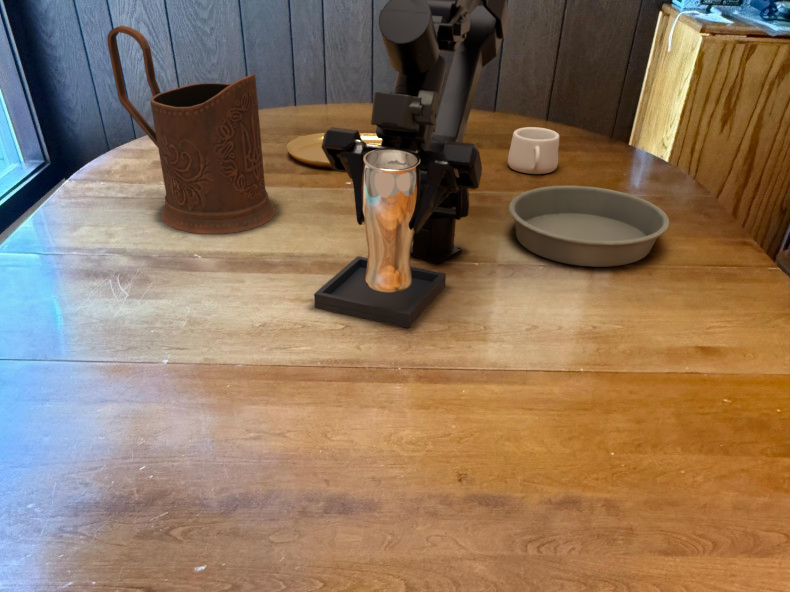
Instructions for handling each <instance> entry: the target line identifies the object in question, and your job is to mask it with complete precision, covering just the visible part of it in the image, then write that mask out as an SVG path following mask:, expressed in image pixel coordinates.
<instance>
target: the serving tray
mask: <svg viewBox="0 0 790 592" xmlns="http://www.w3.org/2000/svg"><path fill="white" fill-rule="evenodd" d="M367 262H368V257H364V256H360V255H357V256H356V257H355V258H354V259H352V260H351V261H350V262H349V263H347V264H346V265H345V266H344V267H343V268H342V269H341V270H339V271H338V272H337V273H336V274H334V276H332V278H330V279H329V280H328V281H327V282H325V283H324V284H323V285H322V286H321V287H320V288H319V289H318V290H317V291H315V293H314V294H313V296H314V297H313V298H314V299H313V300H314V308H315V309H321V310H325V311H327V312H328V311H329V312H334V313H338V314H342V315H347V316H351V317H356V318H360V319H364V320H369V321H374V322H378V323H383V324H388V325H392V326H397V327H400V328H405V329H410V328H411V327H412V326H413V325H414V324H415V323H416V321H417V320H418V319H419V318H420V317H421V315H422V314H423V313H424V312H425V311H426V309H428V307H429V306H430V305H431V304H432V303H433V302H434V301H435V299H437V297H438V296H439V295H440V294H441V293H442V291H443V290H444V289H445V288H446V282H447V280H446V279H447V273H444V272H441V271H435V270H429V269H425V268H421V267H414V266H411V272H412V284H411V286H410V287H409V288H407V289H405V290H403V291H400V292H394V293H386V292H379V291H376V290H373V289H371V288H370V287H369V286H367V284H366V283H365V273H366V268H367Z"/></svg>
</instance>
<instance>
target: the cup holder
mask: <svg viewBox="0 0 790 592" xmlns="http://www.w3.org/2000/svg"><path fill="white" fill-rule="evenodd" d="M119 34H125V35H127V36H130V37H131V38H132V39H134V40H135V41H136V43H137V44H138V45H139V47H140V49H141V51H142V56H143V57H142V58H143V64H144V70H145V75H146V77H145V78H146V82H147V84H148V86H149V90H150V92H151V95H152V97H151V98H150V99H149V102H150V109H151V114H152V120H153V125H154V128H153V127H152V126H151V124H149V122H148V121H147V120H146V119H145V117H144V116H143V115H142V114H141V113H140V111H139V110H138V109H137V108H136V107H135V106H134V105H133V103H132V102H131V101H130V100H129V98H128V97H129V96H128V95H127V92H126V87H125V80H124V75H123V71H122V65H121V59H120V54H119V48H118V43H117V41H118V40H117V36H118V35H119ZM106 39H107V41H106V43H107V49H108V53H109V58H110V63H111V68H112V74H113V78H114V79H113V80H114V84H115V88H116V93H117V98H118V101H119V102H120V104H121V106H122V108H123V109H125V111H126V112H127V113H128V114H129V115H130V117H132V119H133V120H134V121H135V122H136V124H137V125H138V126H139V127H140V128H141V130H143V132H144V133H145V135H147V137H148V138H149V139H150V141H152V143H153V144H154V145H155V146H156V147H157V149H158V154H159V155H158V156H159V160H160V166H161V172H162V178H163V184H164V190H165V196H164V203H165V204H164V206H163V208H162V210H161V214H160V216H161V219H162V221H163V222H164V223H165V224H166V225H167V226H169V227H171V228H174V229H176V230H178V231H179V230H180V231H183V232H186V233H187V232H188V233H194V234H202V235H203V234H204V235H223V234H232V233H239V232H243V231H249V230H252V229H255V228H258V227H260V226H261V227H262V226H263V225H265V224H266V223H268V222H269V221H271V220H272V219H273V218H274V216H276V208H275V207H274V205H273V203H272V202H271V200H270V199H269V194H268V191H267V190H266V182H265V171H264V158H263V147H262V135H261V124H260V114H259V102H258V90H257V89H258V88H257V80H256V79H257V78H256V74H252V73H251V74H248V75H247V76H245V77H242V78H240V79H237V80H236V81H234V82H233V83H221V82H200V83H193V84H188V85H183V86H180V87H176V88H172V89H168V90H165V91H161V89H160V86H159V84H158V82H157V77H156V72H155V67H154V60H153V55H152V49H151V46H150V44H149V42H148V40H147V38H146V37H145V36H144V34H142V32H140V31H139V30H137V29H135V28H134V27H131V26H126V25H120V26H116V27H114V28H112V29H111V30H109V32H108V34H107V35H106Z"/></svg>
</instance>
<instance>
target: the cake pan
mask: <svg viewBox="0 0 790 592" xmlns="http://www.w3.org/2000/svg"><path fill="white" fill-rule="evenodd" d="M508 210H509V211H508V212H509V214H510V215H511V217H512V218H513V219H514V225H515V235H516V239H517V240H518V242H519V243H520V244H521V246H522V247H524V248H525V249H526V250H527V251H530V252H531V253H533V254H535V255H536V256H537V255H538V256H539V257H542V258H545V259H547V260H551V261H555V262H558V263H562V264H566V265H567V264H568V265H573V266H580V267H593V268H596V267H597V268H604V267H605V268H606V267H607V268H608V267H609V268H610V267H619V266H623V265H630V264H632V263H635V262H638V261H641V260H642V259H644V258H645V257H646V256H648V254H650V252H651V250H652V249H653V246H654V245H655V243H656V241H657V239H658V237H661V236H662V235H663V234H665V233H666V231H668V229H669V227H670V219H669V216H668V215H667V214H666V213H665V211H664V210H663V209H661V207H659V206H657V205H656V204H654V203H652V202H650V201H648V200H647V199H643V198H641V197H639V196H636V195H633V194H629V193H627V192H626V193H625V192H622V191H618V190H614V189H609V188H603V187H595V186H585V185H552V186H543V187H538V188H534V189H529V190H527V191H524V192H522V193H520V194H518V195H516V196H515V197H514V198H513V199H512V200H511V201H510V203H509V205H508Z"/></svg>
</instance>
